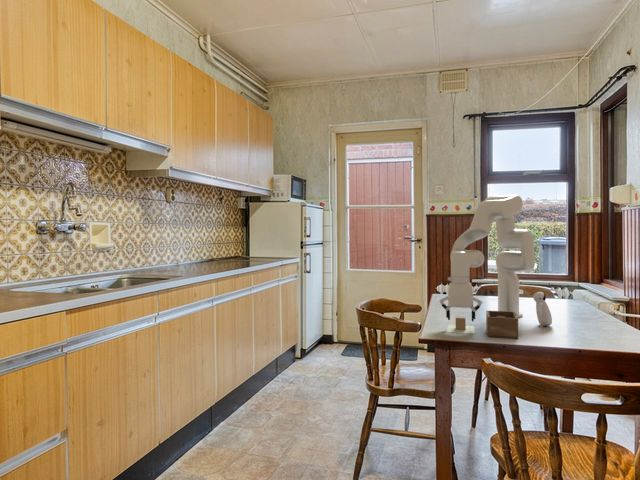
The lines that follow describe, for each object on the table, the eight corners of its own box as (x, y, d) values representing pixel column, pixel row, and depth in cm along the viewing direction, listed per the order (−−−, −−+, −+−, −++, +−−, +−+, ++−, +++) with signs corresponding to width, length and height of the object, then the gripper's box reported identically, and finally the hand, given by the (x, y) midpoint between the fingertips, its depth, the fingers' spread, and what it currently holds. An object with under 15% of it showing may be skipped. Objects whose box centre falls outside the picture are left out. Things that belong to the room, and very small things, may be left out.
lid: (448, 326, 192) (447, 313, 192) (474, 327, 188) (473, 314, 188) (446, 333, 179) (446, 319, 179) (474, 335, 175) (474, 321, 175)
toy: (555, 329, 182) (555, 293, 181) (537, 328, 183) (537, 293, 183) (547, 323, 193) (547, 290, 192) (530, 322, 194) (530, 289, 194)
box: (486, 329, 183) (486, 310, 183) (514, 330, 180) (514, 311, 179) (487, 337, 170) (487, 317, 170) (518, 339, 166) (518, 318, 166)
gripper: (438, 280, 182) (439, 320, 182) (482, 281, 176) (482, 323, 177) (439, 278, 189) (440, 317, 189) (481, 279, 183) (482, 319, 184)
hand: (460, 320), depth 183 cm, fingers open, 9 cm apart
